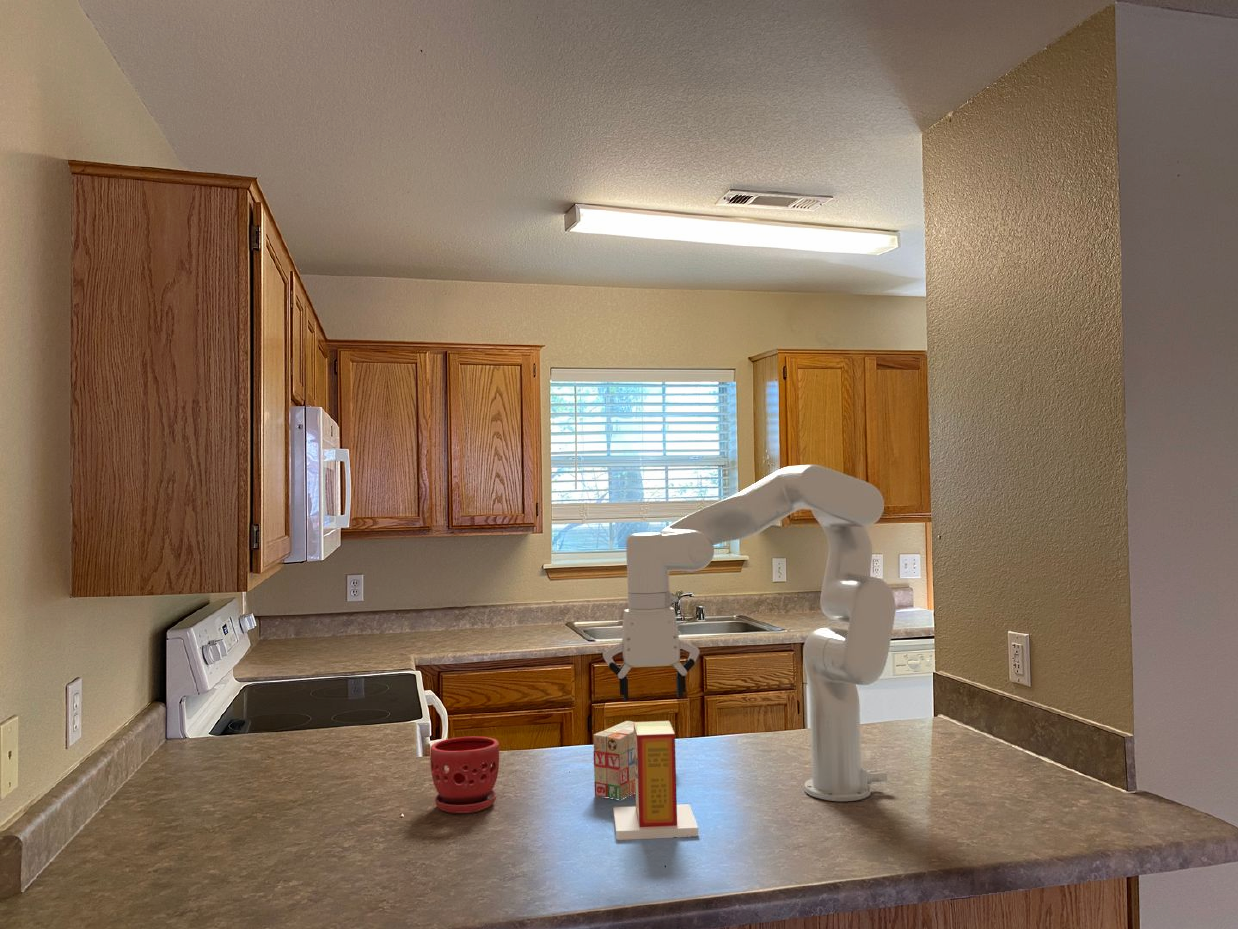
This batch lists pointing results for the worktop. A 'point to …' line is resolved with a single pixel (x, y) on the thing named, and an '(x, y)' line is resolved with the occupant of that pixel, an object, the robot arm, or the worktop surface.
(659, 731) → the baking soda box
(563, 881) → the worktop surface
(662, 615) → the robot arm
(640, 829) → the cutting board
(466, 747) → the plant pot
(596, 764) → the stack of blocks
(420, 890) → the worktop surface
